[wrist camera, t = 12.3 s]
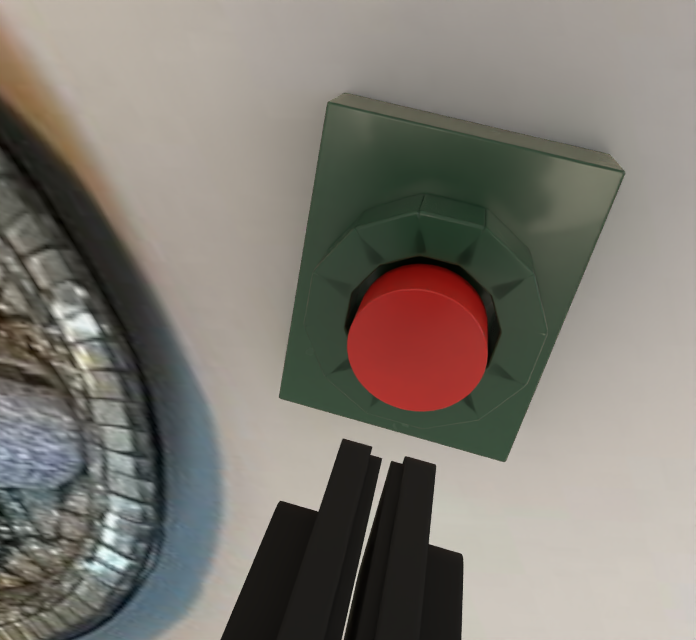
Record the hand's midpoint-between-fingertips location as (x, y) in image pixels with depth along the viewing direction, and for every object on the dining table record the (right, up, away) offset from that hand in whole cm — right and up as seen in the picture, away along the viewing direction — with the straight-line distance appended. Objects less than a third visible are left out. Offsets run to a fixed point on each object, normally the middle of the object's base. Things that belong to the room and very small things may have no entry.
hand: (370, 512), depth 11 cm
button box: (+2, +5, +9) cm, 11 cm away
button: (+2, +3, +6) cm, 7 cm away
